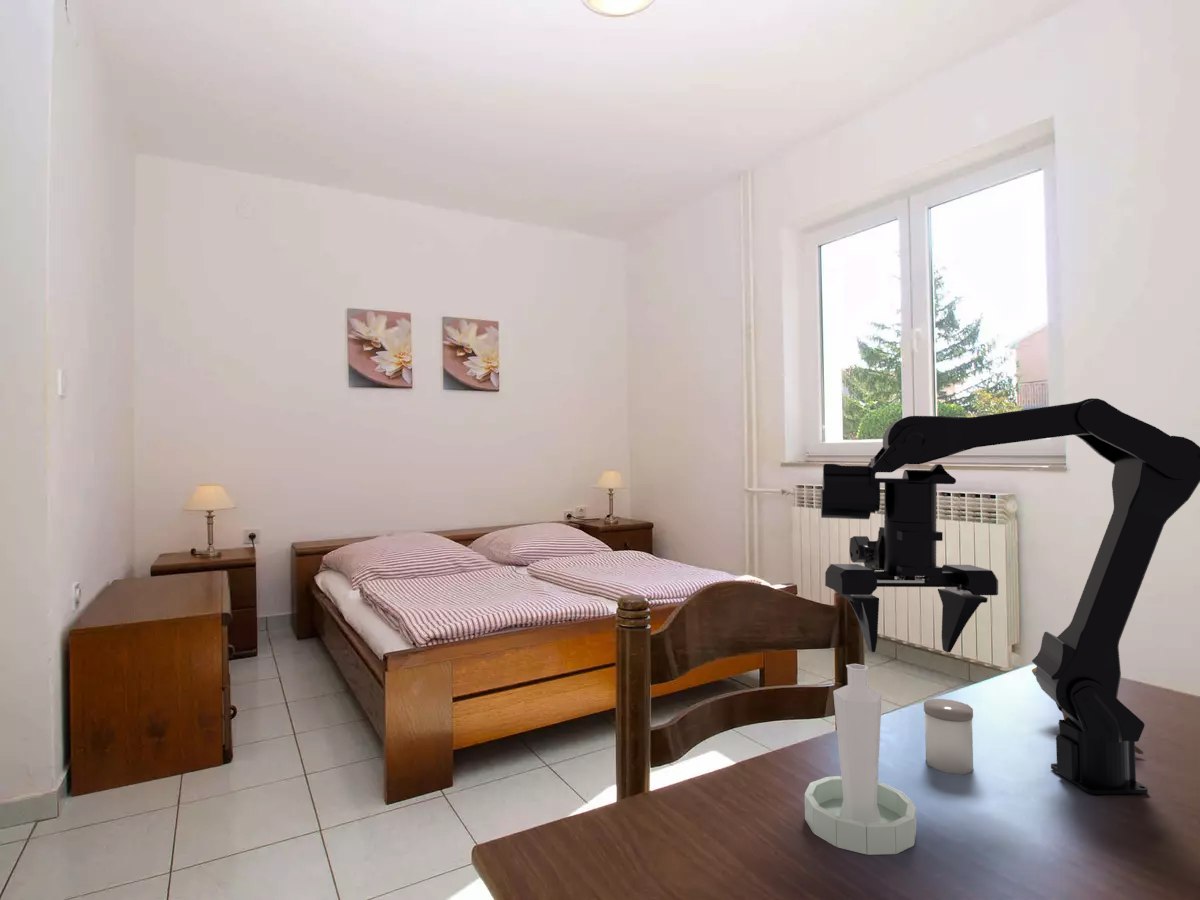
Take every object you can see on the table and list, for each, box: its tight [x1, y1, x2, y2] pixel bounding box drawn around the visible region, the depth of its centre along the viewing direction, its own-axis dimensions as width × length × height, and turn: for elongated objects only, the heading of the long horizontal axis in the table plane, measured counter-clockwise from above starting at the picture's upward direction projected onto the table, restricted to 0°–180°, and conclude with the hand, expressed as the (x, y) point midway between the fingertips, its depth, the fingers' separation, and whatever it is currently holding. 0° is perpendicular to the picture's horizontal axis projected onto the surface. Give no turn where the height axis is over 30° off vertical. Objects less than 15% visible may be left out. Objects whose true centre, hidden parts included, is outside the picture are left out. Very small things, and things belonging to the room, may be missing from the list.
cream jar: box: [923, 698, 974, 775], centre depth 80 cm, size 5×5×7 cm
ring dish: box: [804, 775, 917, 856], centre depth 66 cm, size 10×10×2 cm
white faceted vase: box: [833, 663, 883, 823], centre depth 67 cm, size 5×4×15 cm
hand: (909, 651), depth 81 cm, fingers open, 9 cm apart
